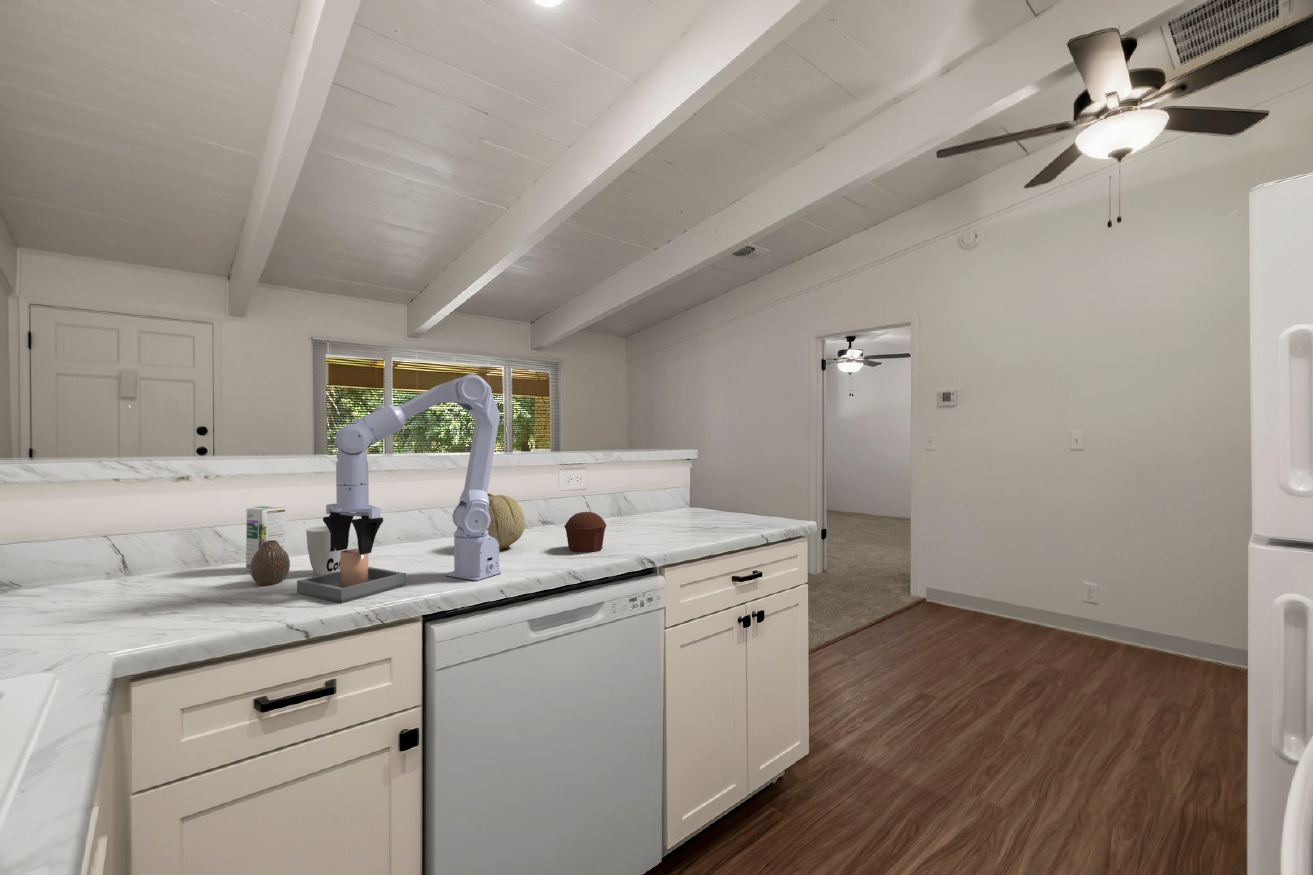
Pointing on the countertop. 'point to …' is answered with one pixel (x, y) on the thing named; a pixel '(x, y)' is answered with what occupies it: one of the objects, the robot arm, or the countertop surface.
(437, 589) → the countertop surface
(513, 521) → the cantaloupe
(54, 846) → the countertop surface
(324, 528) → the cup
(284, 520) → the syrup box
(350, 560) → the terracotta cup
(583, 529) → the muffin
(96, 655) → the countertop surface
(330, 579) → the grey tray
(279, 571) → the vase
